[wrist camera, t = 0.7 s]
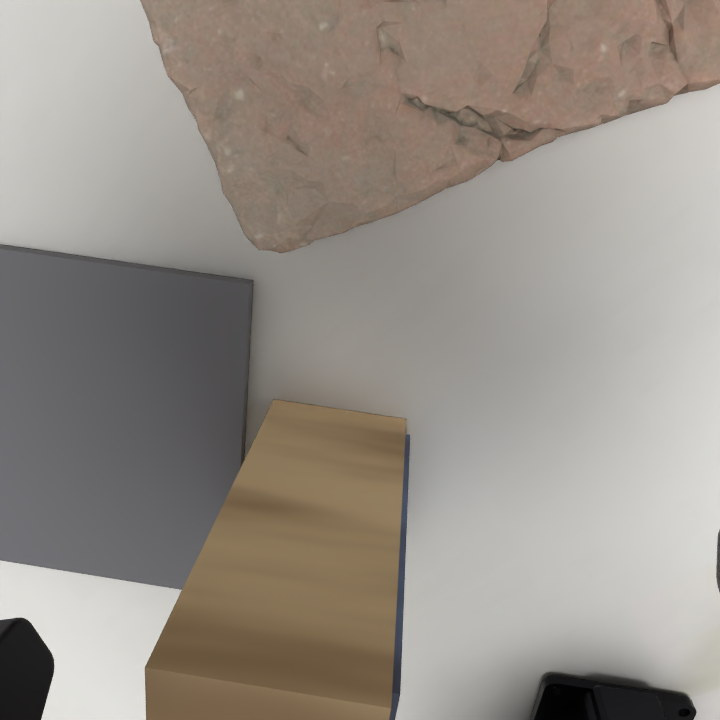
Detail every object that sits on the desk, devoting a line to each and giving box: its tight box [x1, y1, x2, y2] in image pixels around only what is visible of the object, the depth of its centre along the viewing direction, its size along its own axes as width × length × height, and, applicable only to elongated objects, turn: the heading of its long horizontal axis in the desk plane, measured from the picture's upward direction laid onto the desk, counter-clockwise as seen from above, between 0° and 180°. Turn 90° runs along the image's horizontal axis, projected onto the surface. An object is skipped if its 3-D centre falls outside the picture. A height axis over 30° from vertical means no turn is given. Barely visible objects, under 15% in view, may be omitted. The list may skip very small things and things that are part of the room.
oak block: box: [145, 399, 410, 720], centre depth 19 cm, size 5×5×12 cm
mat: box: [0, 245, 253, 590], centre depth 25 cm, size 14×16×1 cm
